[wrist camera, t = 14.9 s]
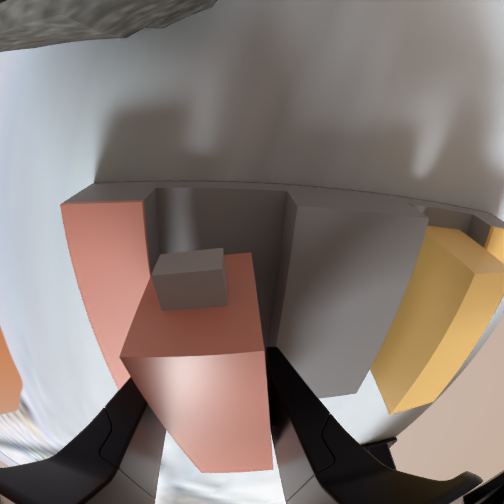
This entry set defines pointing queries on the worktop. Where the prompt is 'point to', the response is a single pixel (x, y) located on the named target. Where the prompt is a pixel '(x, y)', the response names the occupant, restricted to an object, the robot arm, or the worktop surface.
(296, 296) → the slot rack
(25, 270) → the worktop surface
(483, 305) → the ochre plug
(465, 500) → the robot arm
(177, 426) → the brick plug
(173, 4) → the mortar and pestle
